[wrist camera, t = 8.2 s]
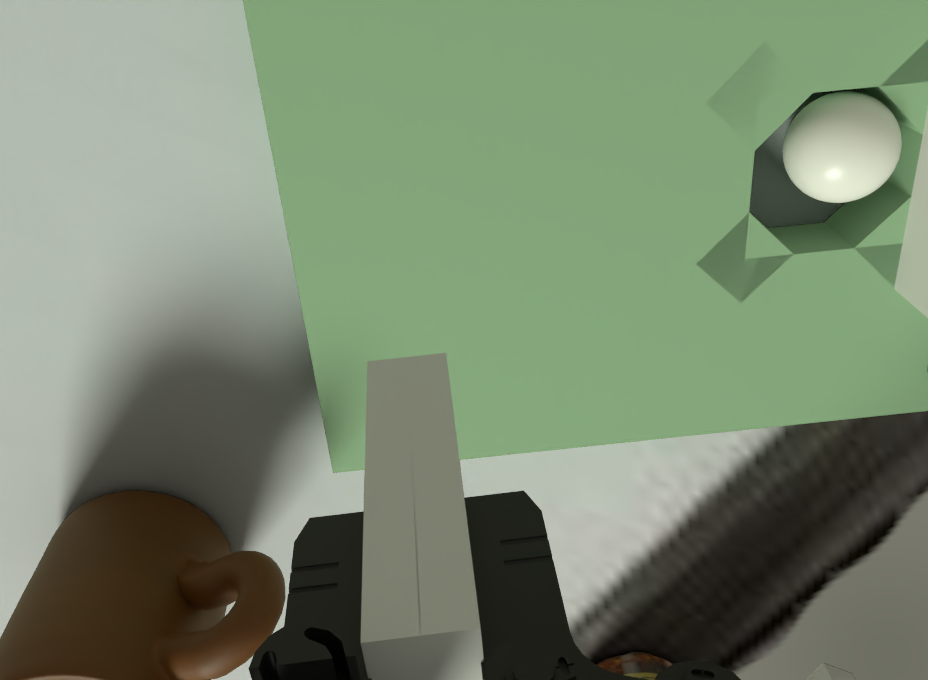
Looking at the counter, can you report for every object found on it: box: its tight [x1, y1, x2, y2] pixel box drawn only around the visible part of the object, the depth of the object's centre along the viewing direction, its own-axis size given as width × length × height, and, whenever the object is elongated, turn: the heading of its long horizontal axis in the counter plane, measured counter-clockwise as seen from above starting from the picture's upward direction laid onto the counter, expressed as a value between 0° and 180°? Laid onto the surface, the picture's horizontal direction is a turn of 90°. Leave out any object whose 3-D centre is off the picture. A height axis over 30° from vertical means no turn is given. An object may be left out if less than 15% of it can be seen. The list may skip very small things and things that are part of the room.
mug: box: [0, 491, 285, 680], centre depth 33 cm, size 12×8×9 cm, turn 123°
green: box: [243, 0, 928, 473], centre depth 23 cm, size 22×25×18 cm
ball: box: [783, 91, 902, 203], centre depth 29 cm, size 4×4×4 cm
